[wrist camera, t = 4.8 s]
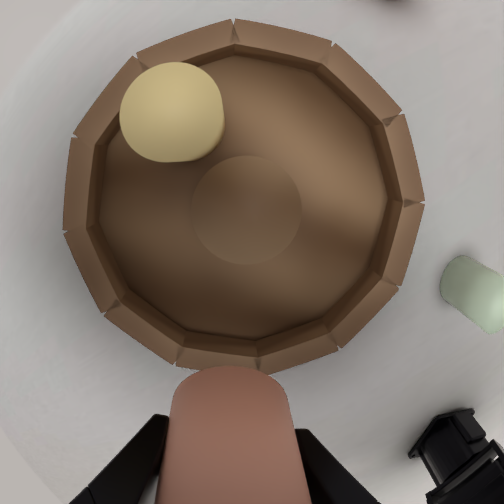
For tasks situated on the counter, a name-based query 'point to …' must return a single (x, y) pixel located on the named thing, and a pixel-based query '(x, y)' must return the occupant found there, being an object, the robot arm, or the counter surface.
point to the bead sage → (475, 292)
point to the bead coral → (231, 442)
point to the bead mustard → (173, 113)
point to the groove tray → (308, 148)
